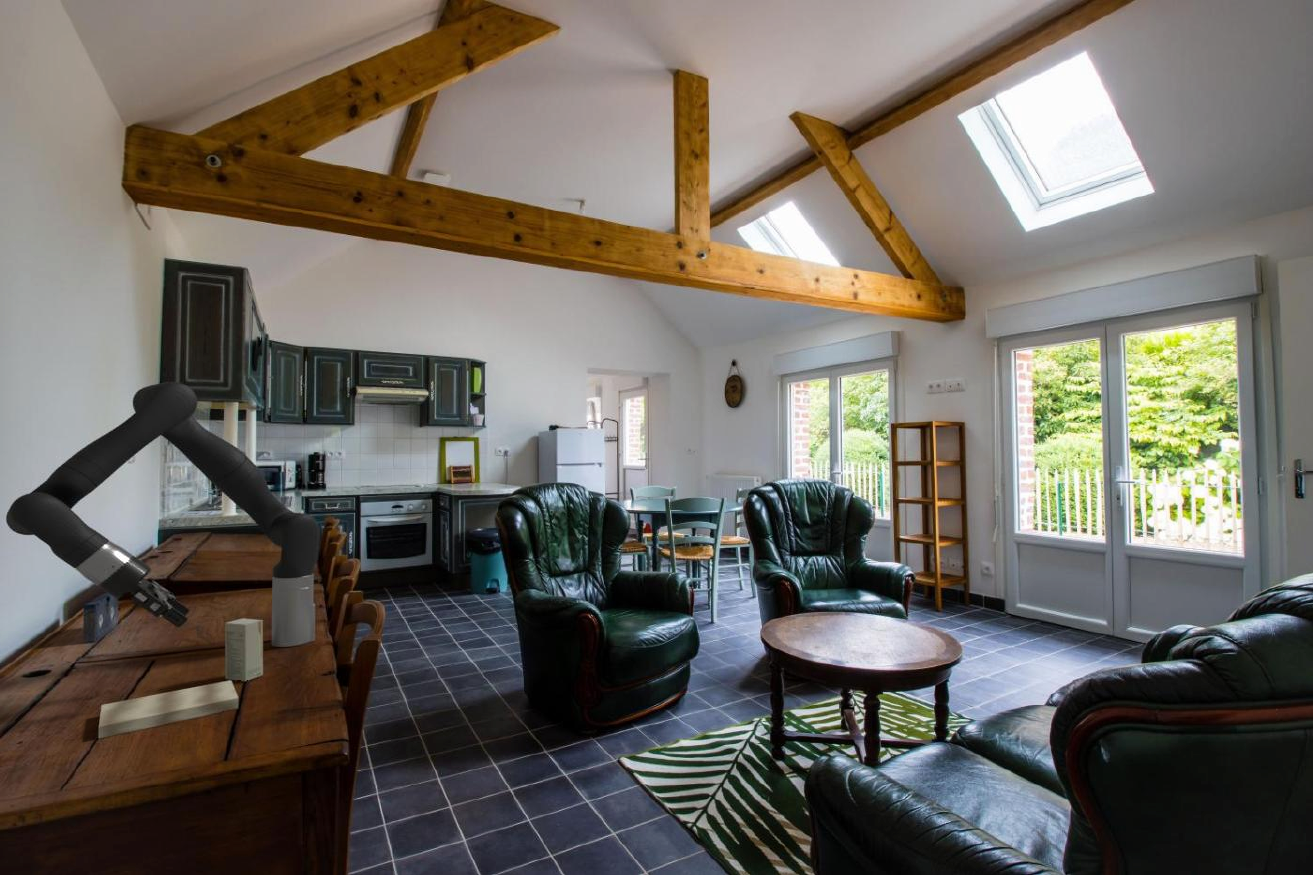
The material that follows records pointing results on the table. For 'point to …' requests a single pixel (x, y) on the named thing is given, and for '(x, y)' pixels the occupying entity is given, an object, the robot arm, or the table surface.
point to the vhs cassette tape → (99, 617)
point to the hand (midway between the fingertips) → (184, 618)
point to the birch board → (166, 708)
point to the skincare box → (243, 649)
